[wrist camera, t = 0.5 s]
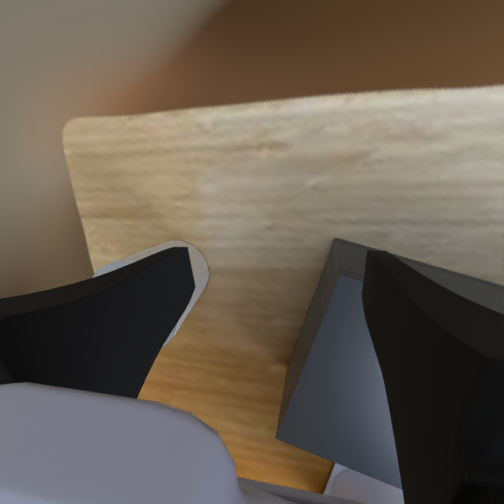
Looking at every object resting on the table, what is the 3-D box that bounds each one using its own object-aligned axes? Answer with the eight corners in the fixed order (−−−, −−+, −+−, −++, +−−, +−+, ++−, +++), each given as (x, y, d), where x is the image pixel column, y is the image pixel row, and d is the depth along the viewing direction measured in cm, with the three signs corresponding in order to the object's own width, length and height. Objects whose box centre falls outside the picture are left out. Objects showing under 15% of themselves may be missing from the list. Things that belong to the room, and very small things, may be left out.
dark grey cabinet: (545, 297, 19) (659, 371, 12) (448, 427, 24) (493, 527, 17) (334, 237, 21) (339, 273, 14) (287, 368, 26) (274, 438, 19)
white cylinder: (162, 217, 24) (102, 241, 17) (229, 261, 24) (193, 302, 17) (136, 276, 26) (76, 316, 20) (196, 316, 26) (154, 368, 20)
